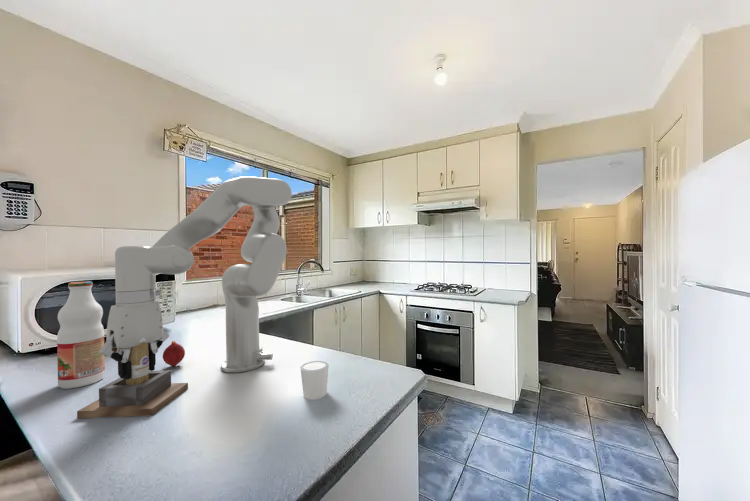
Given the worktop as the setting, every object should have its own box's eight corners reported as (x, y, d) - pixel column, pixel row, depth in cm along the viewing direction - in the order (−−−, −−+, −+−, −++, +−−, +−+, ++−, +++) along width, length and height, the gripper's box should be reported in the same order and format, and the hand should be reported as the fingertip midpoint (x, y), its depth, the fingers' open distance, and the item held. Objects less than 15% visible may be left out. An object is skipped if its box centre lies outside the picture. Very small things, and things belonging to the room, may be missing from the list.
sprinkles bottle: (142, 392, 70) (141, 334, 70) (120, 394, 69) (119, 336, 69) (154, 384, 74) (153, 330, 74) (133, 385, 74) (132, 331, 74)
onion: (189, 364, 96) (188, 339, 96) (170, 371, 91) (169, 344, 91) (177, 362, 98) (177, 337, 98) (158, 368, 93) (158, 342, 93)
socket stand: (188, 388, 78) (187, 367, 78) (152, 415, 65) (151, 390, 65) (125, 390, 78) (125, 369, 78) (77, 418, 65) (76, 392, 65)
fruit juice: (97, 385, 82) (95, 282, 82) (50, 392, 78) (48, 284, 78) (110, 372, 90) (108, 279, 90) (68, 379, 86) (66, 281, 86)
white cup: (304, 403, 69) (304, 373, 69) (297, 391, 75) (297, 363, 75) (333, 396, 72) (332, 367, 72) (324, 385, 78) (323, 358, 78)
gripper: (162, 292, 81) (163, 360, 81) (82, 302, 65) (83, 386, 65) (181, 293, 78) (182, 363, 78) (102, 304, 63) (103, 391, 62)
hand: (137, 373), depth 72 cm, fingers closed on sprinkles bottle, 4 cm apart
